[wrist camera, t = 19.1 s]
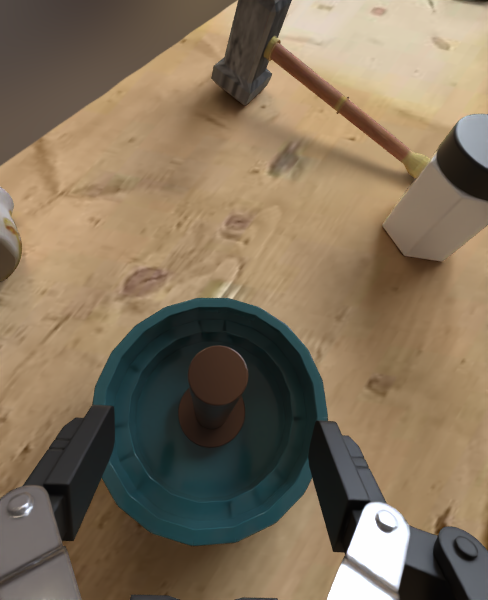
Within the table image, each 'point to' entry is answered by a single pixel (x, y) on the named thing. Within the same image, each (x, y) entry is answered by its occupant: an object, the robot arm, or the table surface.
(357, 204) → the table surface
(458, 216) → the jar
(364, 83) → the table surface
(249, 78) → the hammer
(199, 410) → the brown flanged rod
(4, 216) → the mug
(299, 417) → the bowl
